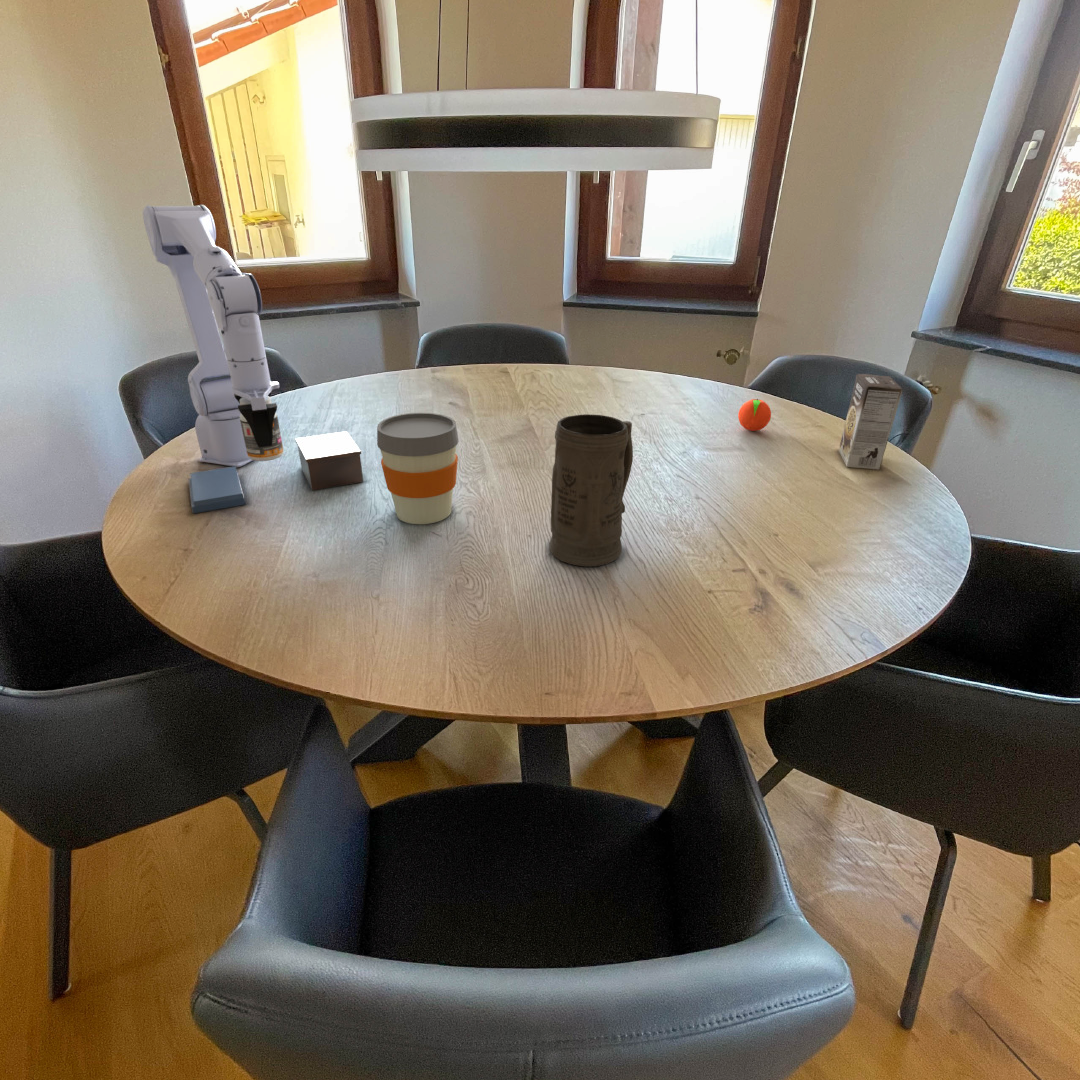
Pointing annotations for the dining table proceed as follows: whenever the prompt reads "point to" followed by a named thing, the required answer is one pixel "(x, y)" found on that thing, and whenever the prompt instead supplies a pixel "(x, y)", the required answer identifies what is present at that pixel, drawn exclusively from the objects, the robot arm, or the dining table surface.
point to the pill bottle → (250, 443)
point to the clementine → (754, 415)
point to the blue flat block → (215, 489)
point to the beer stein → (589, 488)
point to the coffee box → (869, 420)
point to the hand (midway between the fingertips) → (262, 439)
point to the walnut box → (330, 460)
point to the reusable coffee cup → (419, 464)
